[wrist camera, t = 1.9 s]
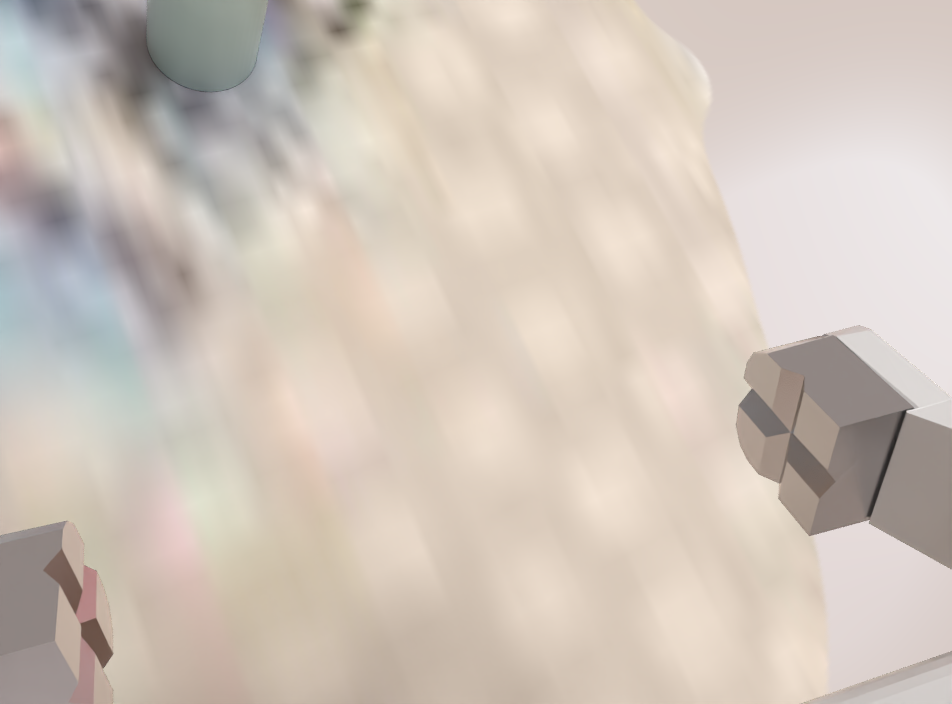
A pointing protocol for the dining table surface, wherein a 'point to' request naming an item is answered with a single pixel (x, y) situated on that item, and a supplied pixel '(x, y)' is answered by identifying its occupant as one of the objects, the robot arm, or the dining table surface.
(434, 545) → the dining table surface
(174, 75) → the capped tube
